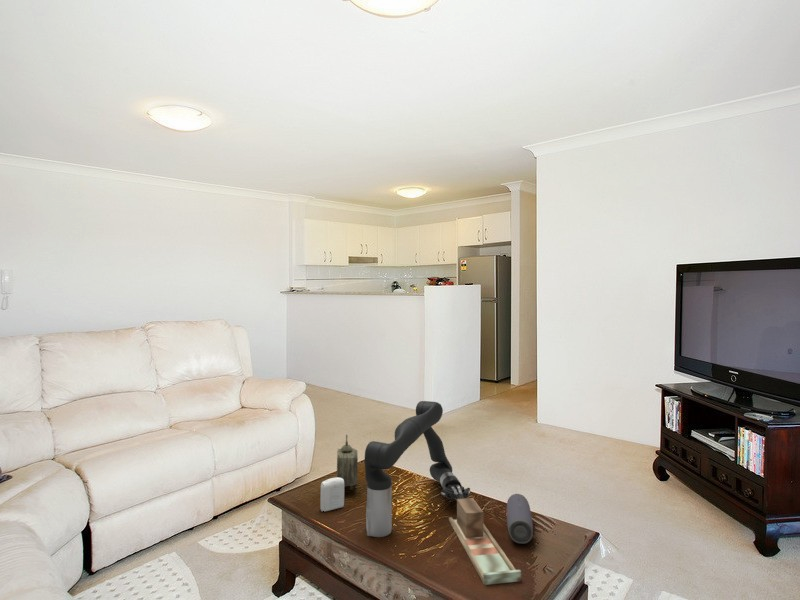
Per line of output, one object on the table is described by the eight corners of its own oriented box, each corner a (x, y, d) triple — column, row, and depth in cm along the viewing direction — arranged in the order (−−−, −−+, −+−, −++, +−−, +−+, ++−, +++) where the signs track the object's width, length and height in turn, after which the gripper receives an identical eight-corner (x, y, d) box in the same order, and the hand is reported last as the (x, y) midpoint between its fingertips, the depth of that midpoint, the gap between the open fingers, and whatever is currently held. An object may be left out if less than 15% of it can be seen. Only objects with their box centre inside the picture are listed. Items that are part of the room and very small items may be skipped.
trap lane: (484, 584, 141) (484, 575, 141) (448, 520, 181) (448, 512, 181) (521, 581, 143) (521, 571, 143) (477, 518, 183) (477, 510, 183)
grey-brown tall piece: (337, 483, 217) (337, 430, 216) (357, 483, 218) (357, 430, 217) (336, 497, 202) (337, 440, 202) (357, 496, 203) (357, 439, 203)
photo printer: (341, 503, 197) (341, 474, 197) (345, 506, 193) (345, 477, 193) (318, 509, 191) (318, 479, 191) (323, 513, 187) (323, 482, 187)
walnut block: (466, 537, 168) (466, 513, 168) (456, 522, 180) (456, 499, 180) (483, 536, 169) (483, 512, 169) (472, 520, 181) (472, 497, 181)
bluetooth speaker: (505, 516, 186) (505, 491, 185) (529, 518, 184) (529, 493, 184) (506, 545, 163) (507, 517, 163) (534, 548, 161) (534, 520, 161)
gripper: (435, 476, 200) (446, 492, 183) (464, 474, 202) (477, 490, 185) (435, 493, 200) (445, 511, 183) (464, 491, 202) (477, 509, 185)
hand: (462, 501), depth 184 cm, fingers closed
